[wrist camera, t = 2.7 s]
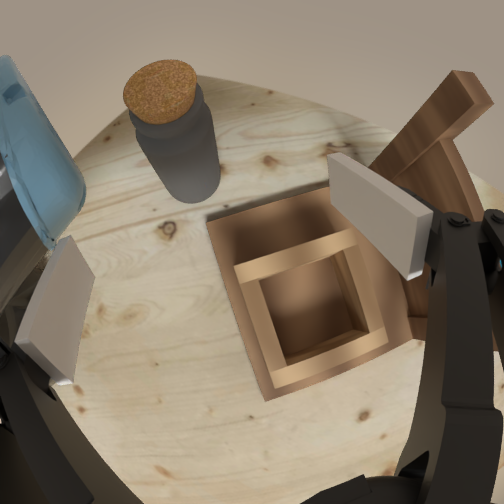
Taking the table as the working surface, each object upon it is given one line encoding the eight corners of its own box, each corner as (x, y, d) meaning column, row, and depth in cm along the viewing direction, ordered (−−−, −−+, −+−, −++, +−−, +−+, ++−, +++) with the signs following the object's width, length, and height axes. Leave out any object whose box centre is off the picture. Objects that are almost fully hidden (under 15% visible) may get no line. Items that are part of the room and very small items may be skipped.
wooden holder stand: (264, 398, 26) (296, 527, 8) (206, 225, 29) (156, 107, 10) (425, 328, 28) (565, 336, 9) (373, 177, 31) (473, 72, 12)
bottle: (170, 210, 29) (114, 133, 14) (162, 161, 30) (114, 68, 15) (226, 196, 30) (214, 105, 15) (214, 148, 31) (198, 45, 16)
